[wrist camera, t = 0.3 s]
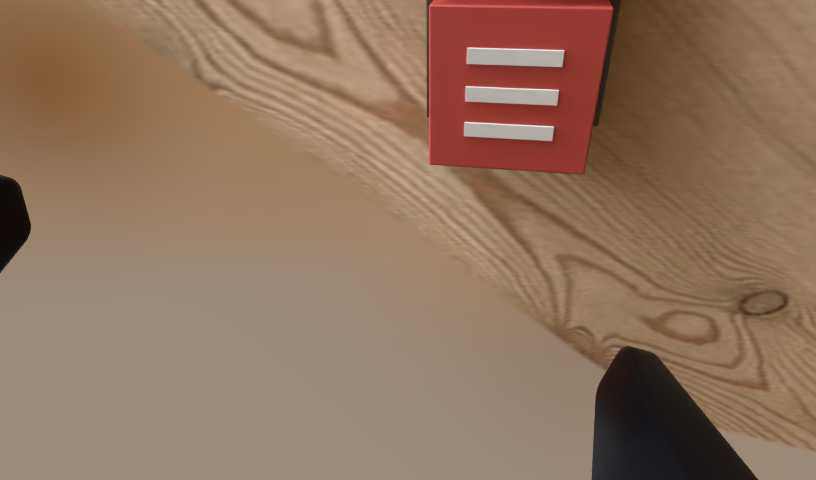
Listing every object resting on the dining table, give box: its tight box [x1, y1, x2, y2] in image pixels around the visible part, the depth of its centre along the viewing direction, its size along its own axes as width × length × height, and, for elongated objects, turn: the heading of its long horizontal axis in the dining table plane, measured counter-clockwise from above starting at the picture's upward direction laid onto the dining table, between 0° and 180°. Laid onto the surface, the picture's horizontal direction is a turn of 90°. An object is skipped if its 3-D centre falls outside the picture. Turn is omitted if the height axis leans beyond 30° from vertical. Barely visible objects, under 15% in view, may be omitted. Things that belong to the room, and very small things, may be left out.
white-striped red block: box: [429, 0, 614, 174], centre depth 16 cm, size 4×4×4 cm
